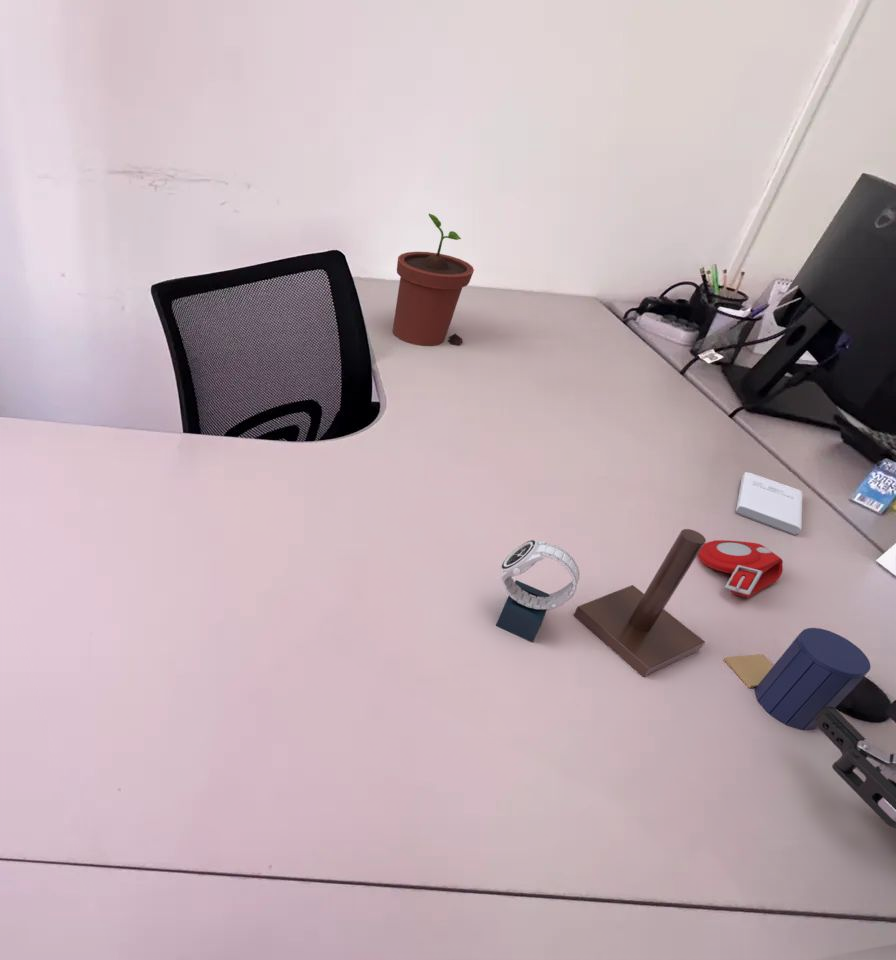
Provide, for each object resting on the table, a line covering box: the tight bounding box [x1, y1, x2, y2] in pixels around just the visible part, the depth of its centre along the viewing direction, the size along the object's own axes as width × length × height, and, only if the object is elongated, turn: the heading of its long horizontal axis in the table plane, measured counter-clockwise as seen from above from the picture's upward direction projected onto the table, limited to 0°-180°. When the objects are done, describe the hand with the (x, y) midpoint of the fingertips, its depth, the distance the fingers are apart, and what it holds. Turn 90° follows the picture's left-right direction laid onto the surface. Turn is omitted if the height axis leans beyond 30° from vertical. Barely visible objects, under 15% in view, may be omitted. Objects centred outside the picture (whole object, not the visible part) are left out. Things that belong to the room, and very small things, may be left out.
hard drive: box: [735, 471, 803, 536], centre depth 105 cm, size 2×8×12 cm
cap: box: [723, 627, 871, 731], centre depth 72 cm, size 10×6×9 cm, turn 10°
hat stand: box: [573, 528, 707, 678], centre depth 76 cm, size 10×10×15 cm
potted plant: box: [392, 213, 475, 347], centre depth 144 cm, size 18×22×25 cm
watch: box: [495, 539, 580, 643], centre depth 77 cm, size 6×8×11 cm
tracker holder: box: [697, 539, 784, 599], centre depth 89 cm, size 12×4×10 cm
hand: (857, 708), depth 66 cm, fingers open, 8 cm apart
